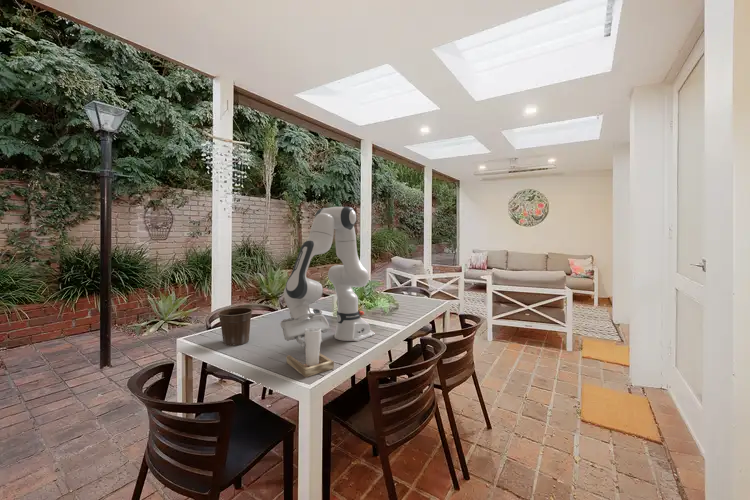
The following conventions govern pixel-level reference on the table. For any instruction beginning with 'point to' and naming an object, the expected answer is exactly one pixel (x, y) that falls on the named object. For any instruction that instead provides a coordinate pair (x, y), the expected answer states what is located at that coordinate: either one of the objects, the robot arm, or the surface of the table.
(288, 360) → the guide channel
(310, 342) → the white cup
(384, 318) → the table surface
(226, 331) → the plant pot
